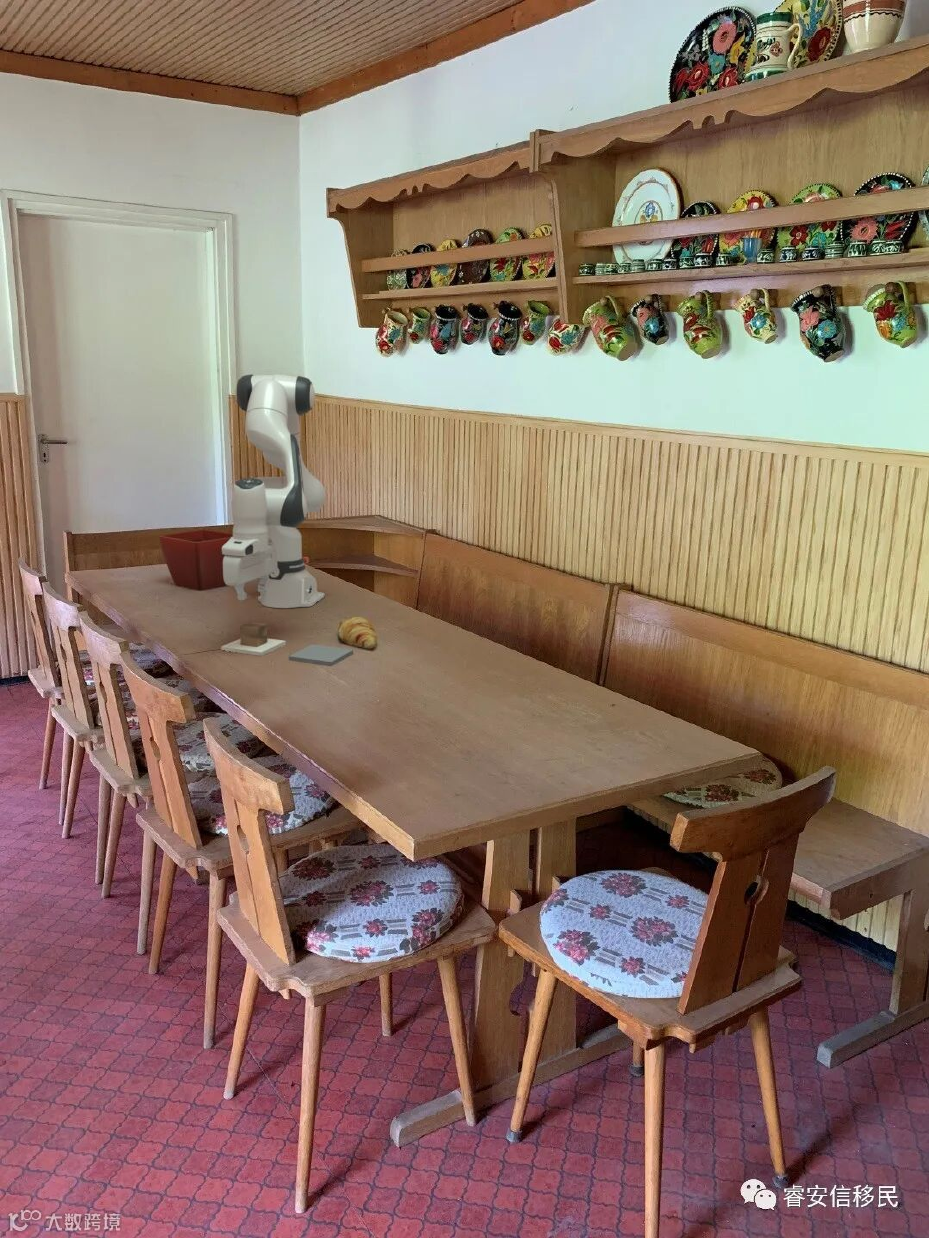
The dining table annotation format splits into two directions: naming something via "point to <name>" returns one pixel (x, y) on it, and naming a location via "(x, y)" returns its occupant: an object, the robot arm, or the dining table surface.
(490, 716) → the dining table surface
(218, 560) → the plant pot
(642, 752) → the dining table surface
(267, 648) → the pad
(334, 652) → the pad
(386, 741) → the dining table surface
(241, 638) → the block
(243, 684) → the dining table surface
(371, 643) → the croissant
